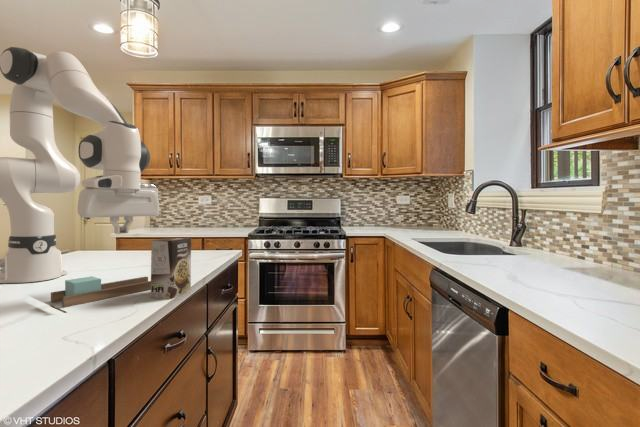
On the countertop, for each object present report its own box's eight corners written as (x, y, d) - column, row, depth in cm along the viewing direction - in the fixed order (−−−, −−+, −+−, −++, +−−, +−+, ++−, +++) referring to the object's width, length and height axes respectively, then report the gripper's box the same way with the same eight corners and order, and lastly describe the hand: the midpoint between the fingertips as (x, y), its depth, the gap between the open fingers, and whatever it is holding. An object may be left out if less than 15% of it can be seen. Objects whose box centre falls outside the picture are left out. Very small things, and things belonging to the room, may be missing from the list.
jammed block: (65, 300, 87) (65, 280, 87) (91, 295, 92) (91, 276, 92) (74, 304, 84) (74, 283, 84) (101, 298, 89) (101, 279, 89)
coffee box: (171, 303, 90) (172, 240, 90) (149, 301, 91) (150, 239, 91) (191, 294, 99) (192, 237, 98) (171, 293, 100) (171, 236, 100)
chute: (50, 306, 86) (50, 292, 86) (145, 287, 106) (145, 276, 106) (64, 312, 81) (64, 297, 81) (161, 292, 101) (161, 280, 101)
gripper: (152, 184, 105) (151, 230, 106) (74, 180, 88) (74, 234, 89) (164, 184, 102) (163, 232, 103) (86, 180, 85) (85, 237, 86)
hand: (121, 233), depth 96 cm, fingers closed
